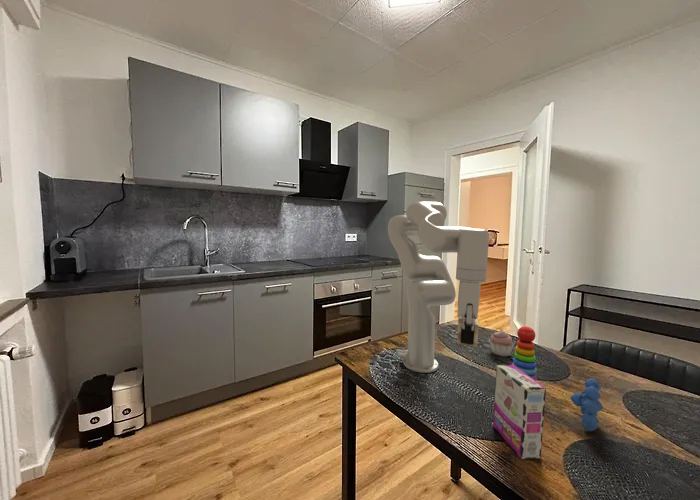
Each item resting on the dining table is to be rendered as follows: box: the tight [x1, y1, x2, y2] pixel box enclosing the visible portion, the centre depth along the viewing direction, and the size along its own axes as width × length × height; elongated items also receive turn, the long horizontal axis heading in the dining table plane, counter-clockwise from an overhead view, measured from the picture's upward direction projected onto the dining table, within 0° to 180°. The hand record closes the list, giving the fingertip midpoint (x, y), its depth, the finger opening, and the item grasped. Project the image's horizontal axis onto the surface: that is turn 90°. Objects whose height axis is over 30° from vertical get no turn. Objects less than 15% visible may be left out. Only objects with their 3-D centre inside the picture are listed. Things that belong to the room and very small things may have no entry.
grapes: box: [569, 378, 604, 432], centre depth 75 cm, size 12×7×12 cm, turn 139°
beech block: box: [456, 316, 479, 348], centre depth 80 cm, size 5×5×6 cm
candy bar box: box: [492, 364, 547, 460], centre depth 68 cm, size 11×5×16 cm, turn 5°
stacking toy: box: [511, 325, 538, 382], centre depth 94 cm, size 8×8×19 cm
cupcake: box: [488, 329, 515, 358], centre depth 117 cm, size 9×9×10 cm
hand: (466, 338), depth 80 cm, fingers closed on beech block, 4 cm apart
